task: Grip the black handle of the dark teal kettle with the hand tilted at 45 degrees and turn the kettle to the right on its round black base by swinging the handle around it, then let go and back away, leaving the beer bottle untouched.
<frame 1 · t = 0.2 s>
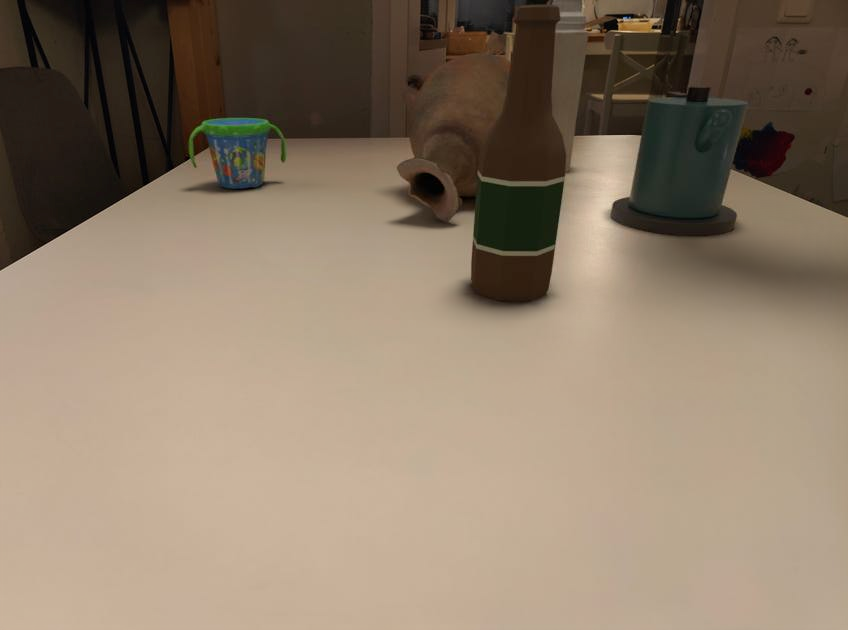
snack cup: (242, 186, 103), on the table
kettle base: (670, 219, 82), on the table
beer bottle: (508, 290, 60), on the table
kettle: (682, 147, 79), point 9 cm above the table, hinge at 0.0°
jug: (458, 201, 92), on the table
thermos bottle: (546, 170, 113), on the table
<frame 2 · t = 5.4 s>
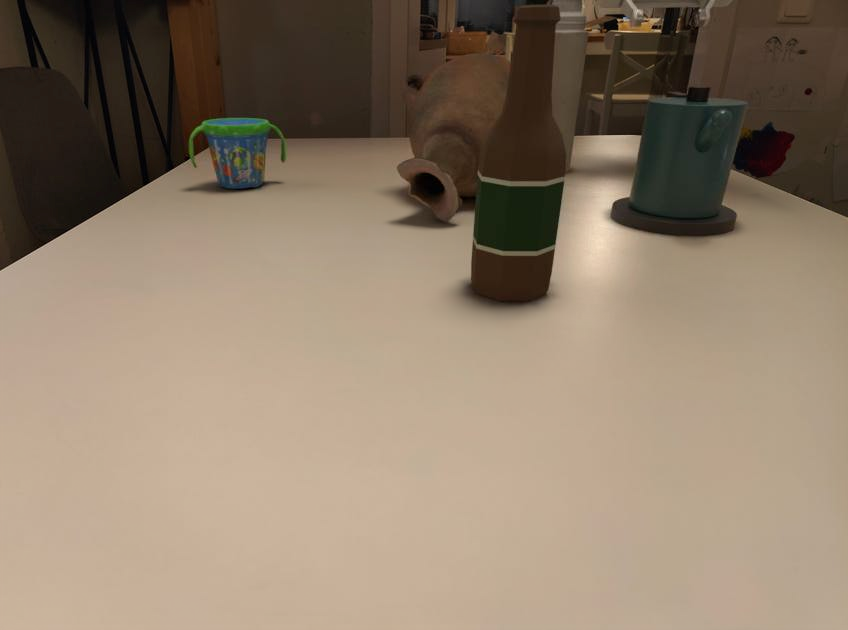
hand: (669, 23, 92), 23 cm above the table, tool tilted 45°, fingers open, 8 cm apart
nothing on the table moved.
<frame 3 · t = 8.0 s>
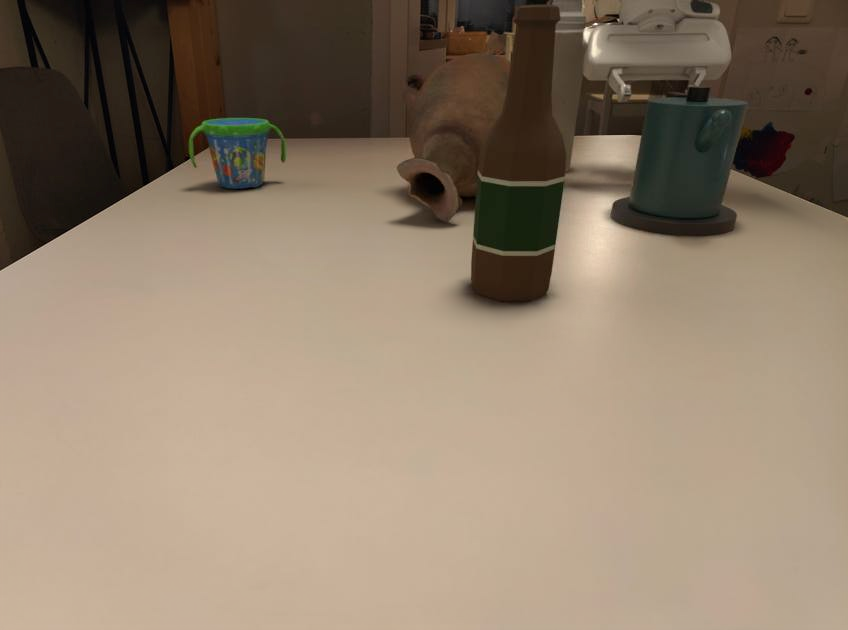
hand: (658, 98, 89), 14 cm above the table, tool tilted 45°, fingers open, 8 cm apart
nothing on the table moved.
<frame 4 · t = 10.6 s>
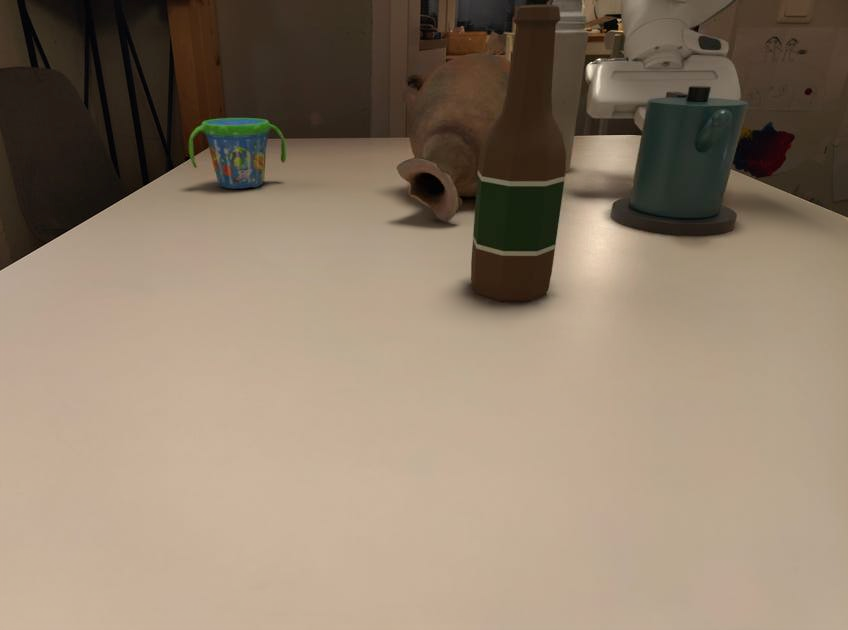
hand: (664, 139, 86), 9 cm above the table, tool tilted 45°, fingers closed on kettle, 2 cm apart
kettle: (682, 147, 79), point 9 cm above the table, hinge at 0.0°, touching gripper
everything else where it was.
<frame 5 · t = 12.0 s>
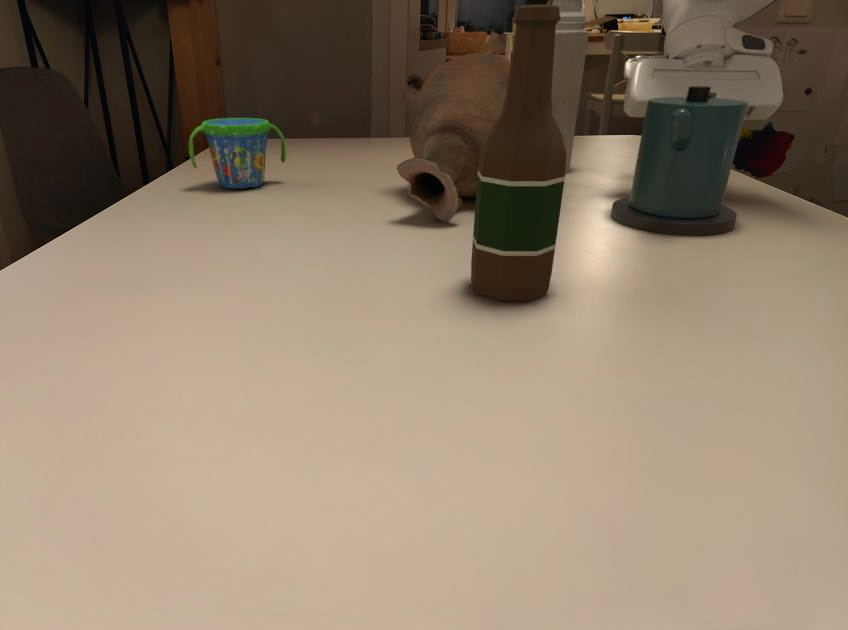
hand: (703, 140, 85), 9 cm above the table, tool tilted 45°, fingers open, 3 cm apart
kettle: (688, 148, 79), point 9 cm above the table, hinge at 26.7°, touching gripper
everything else where it was.
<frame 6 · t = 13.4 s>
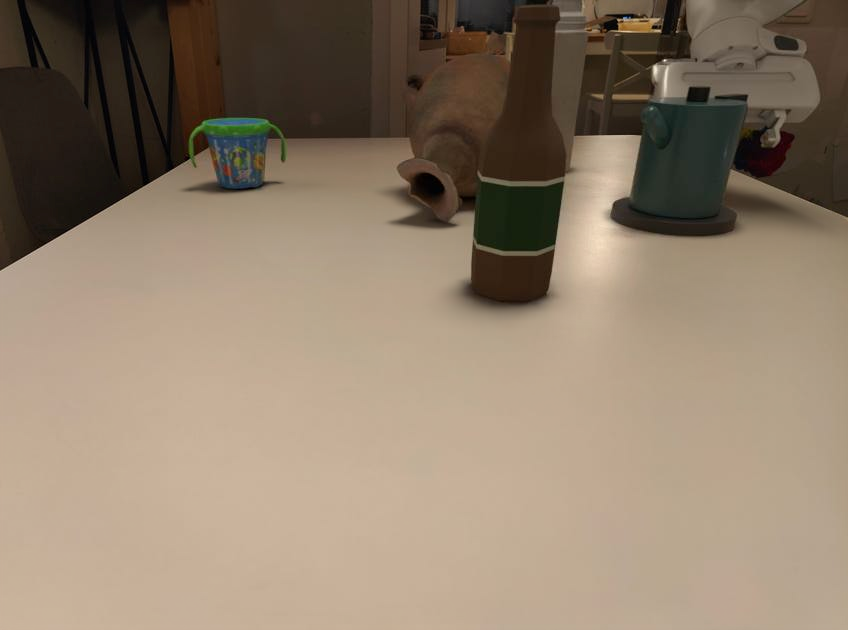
hand: (738, 144, 81), 9 cm above the table, tool tilted 45°, fingers open, 7 cm apart
kettle: (693, 148, 78), point 9 cm above the table, hinge at 49.6°, touching gripper
everything else where it was.
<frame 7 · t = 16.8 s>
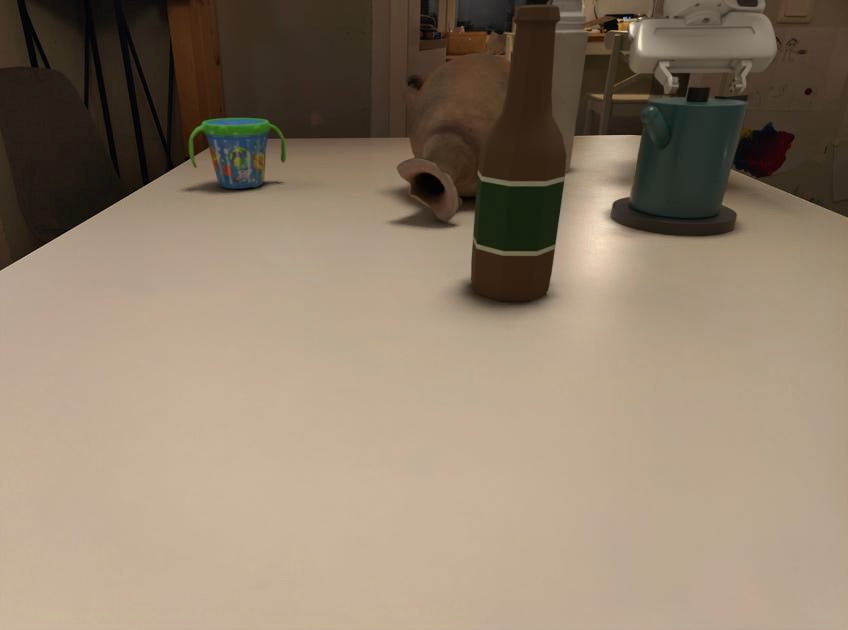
hand: (705, 90, 91), 14 cm above the table, tool tilted 45°, fingers open, 8 cm apart
kettle: (693, 148, 78), point 9 cm above the table, hinge at 49.6°
everything else where it was.
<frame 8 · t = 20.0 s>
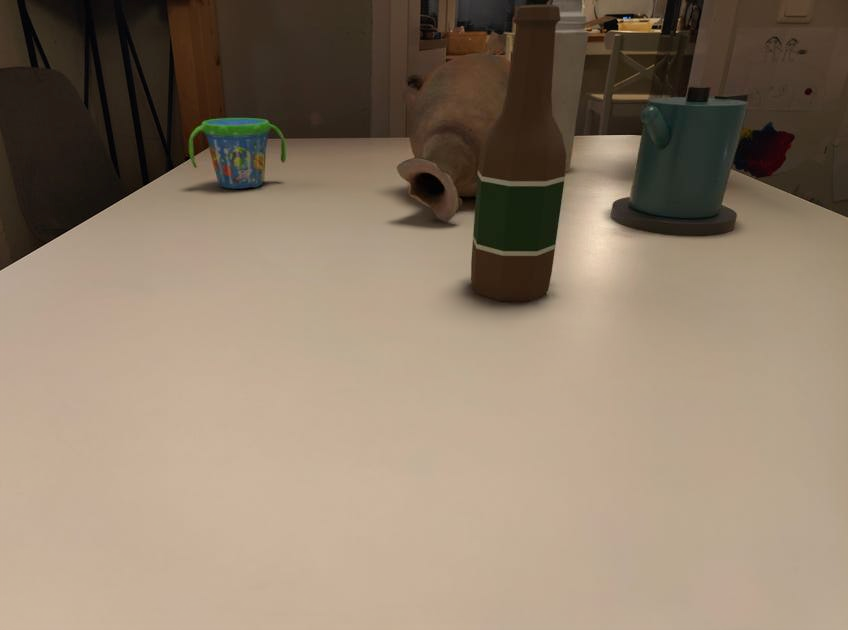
nothing on the table moved.
at the end: kettle at +50° (first picture: +0°); the gripper is holding nothing; beer bottle moved 0.2 cm from its start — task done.
